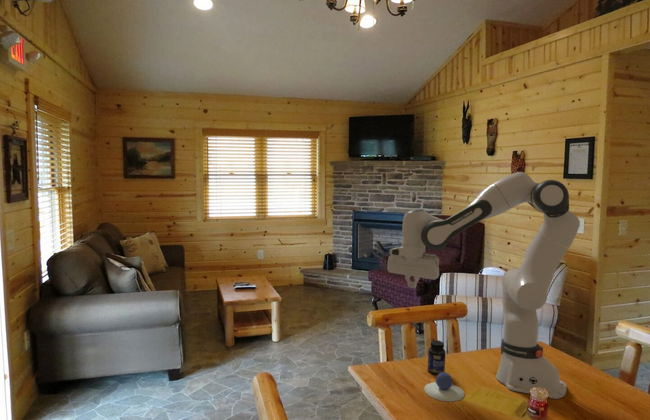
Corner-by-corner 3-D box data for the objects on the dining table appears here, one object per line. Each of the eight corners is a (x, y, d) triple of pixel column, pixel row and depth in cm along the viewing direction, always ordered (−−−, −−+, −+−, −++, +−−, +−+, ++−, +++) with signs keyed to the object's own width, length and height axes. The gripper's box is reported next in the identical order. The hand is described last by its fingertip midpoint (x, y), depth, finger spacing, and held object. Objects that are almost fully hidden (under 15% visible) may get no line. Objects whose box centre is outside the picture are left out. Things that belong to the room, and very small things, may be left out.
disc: (469, 389, 154) (469, 389, 154) (456, 405, 143) (456, 405, 143) (433, 379, 161) (433, 378, 161) (418, 393, 151) (418, 392, 151)
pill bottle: (432, 376, 164) (433, 346, 163) (424, 368, 169) (425, 340, 168) (447, 374, 165) (449, 345, 164) (439, 367, 171) (440, 338, 170)
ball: (453, 371, 156) (436, 368, 157) (454, 379, 150) (437, 375, 151) (450, 386, 157) (434, 382, 157) (451, 394, 151) (434, 390, 152)
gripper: (442, 253, 169) (441, 290, 171) (393, 247, 181) (392, 281, 182) (436, 256, 164) (434, 293, 165) (385, 249, 176) (384, 284, 177)
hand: (412, 287), depth 174 cm, fingers closed
